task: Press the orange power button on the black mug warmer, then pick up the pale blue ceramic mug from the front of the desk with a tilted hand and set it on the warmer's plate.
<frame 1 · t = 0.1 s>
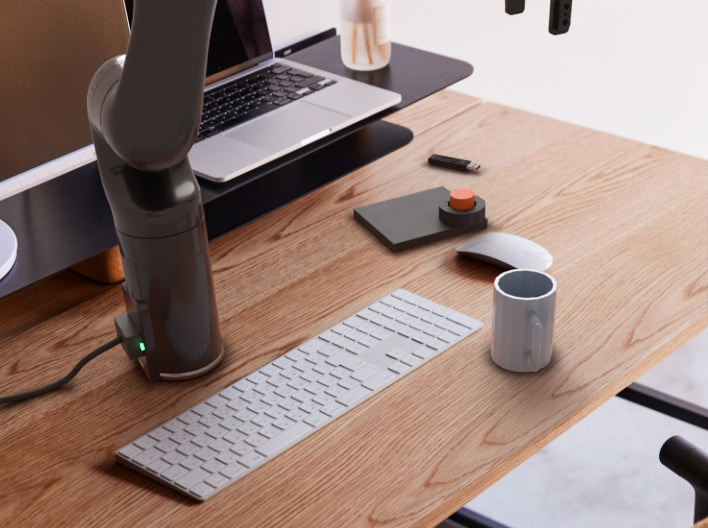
hand: (536, 23, 117), 29 cm above the table, tool pointing down, fingers open, 8 cm apart
warmer button: (462, 199, 141), point 4 cm above the table, slide at 0.1 cm
mug: (521, 355, 117), on the table
warmer: (419, 221, 144), on the table
usb flash drive: (454, 167, 158), on the table
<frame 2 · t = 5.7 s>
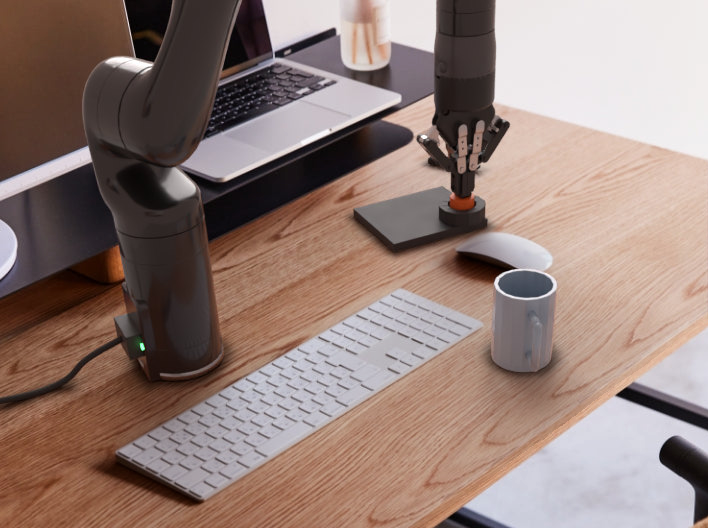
hand: (462, 195, 141), 4 cm above the table, tool pointing down, fingers closed
warmer button: (462, 202, 141), point 3 cm above the table, slide at -0.2 cm, touching gripper
everything else where it was.
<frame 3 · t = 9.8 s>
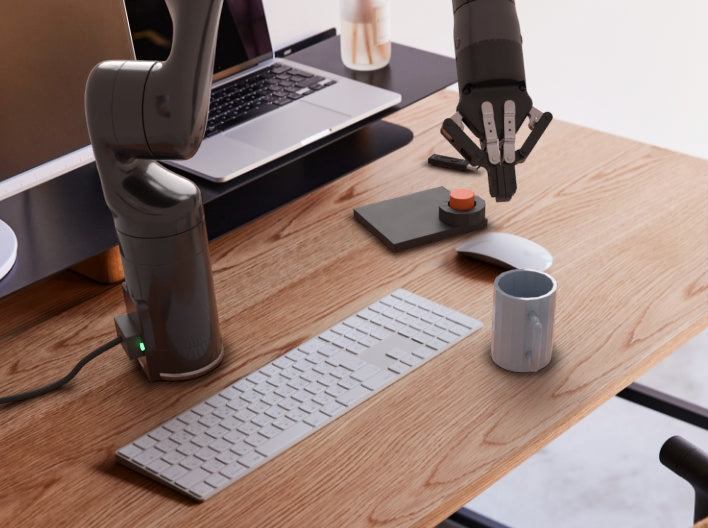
hand: (503, 200, 118), 13 cm above the table, tool tilted 40°, fingers closed
warmer button: (462, 199, 141), point 4 cm above the table, slide at 0.1 cm
everything else where it was.
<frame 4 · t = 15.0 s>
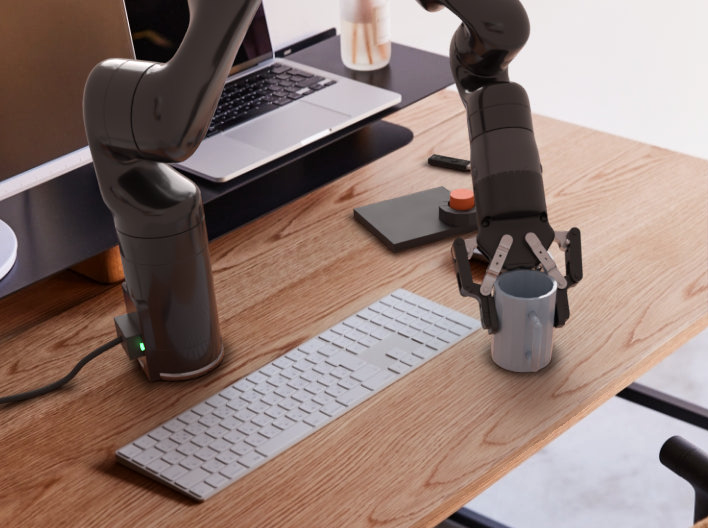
hand: (526, 329, 113), 4 cm above the table, tool tilted 45°, fingers closed on mug, 6 cm apart
mug: (521, 355, 117), on the table, touching gripper
everything else where it was.
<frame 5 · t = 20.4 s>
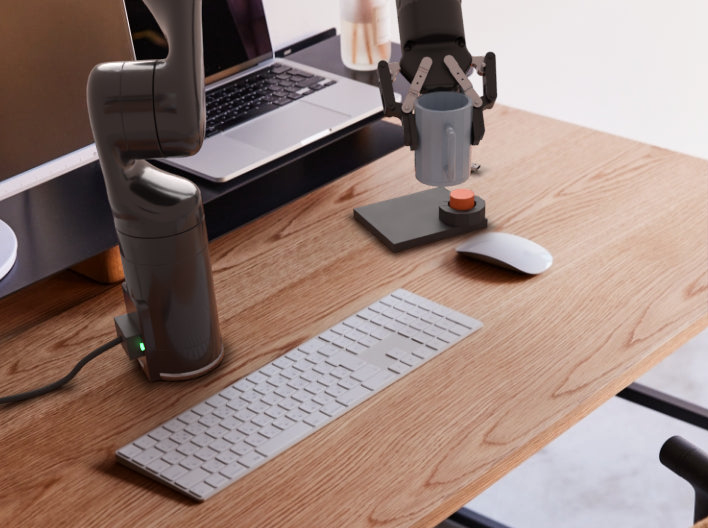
hand: (445, 145, 122), 17 cm above the table, tool tilted 45°, fingers closed on mug, 6 cm apart
mug: (442, 175, 126), point 13 cm above the table, touching gripper
everything else where it was.
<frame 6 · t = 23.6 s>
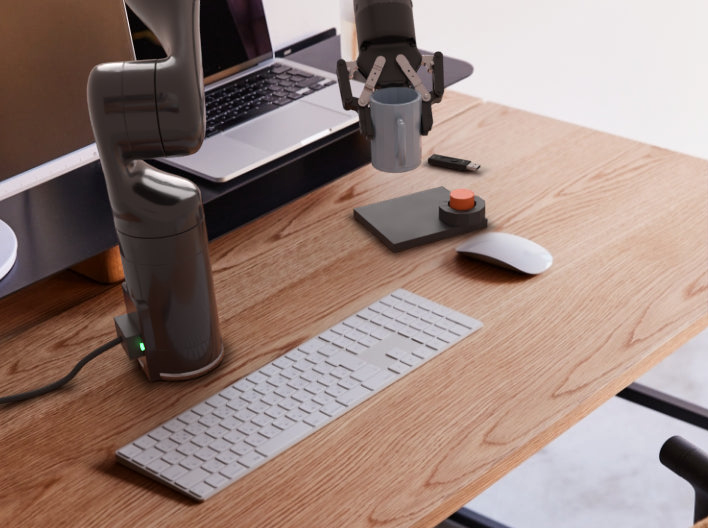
hand: (397, 135, 136), 13 cm above the table, tool tilted 45°, fingers closed on mug, 6 cm apart
mug: (396, 162, 140), point 8 cm above the table, touching gripper
everything else where it was.
when the fingers open (6 cm above the table, at t = 26.3 s): mug stays where it is, resting on warmer.
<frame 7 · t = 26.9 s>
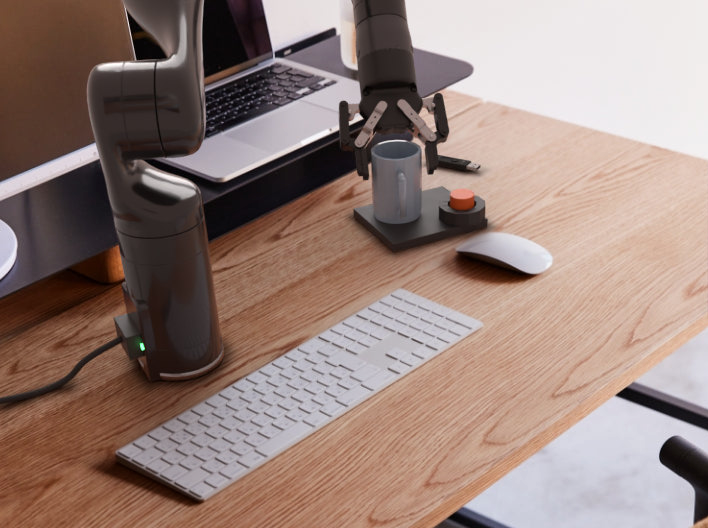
hand: (398, 175, 139), 7 cm above the table, tool tilted 45°, fingers open, 8 cm apart
mug: (397, 213, 144), point 1 cm above the table, touching warmer
everything else where it was.
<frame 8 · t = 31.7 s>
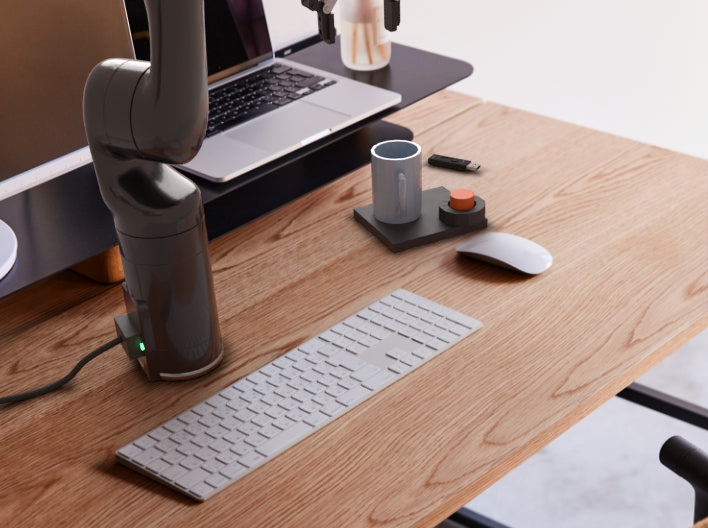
hand: (360, 36, 133), 24 cm above the table, tool pointing down, fingers open, 8 cm apart
nothing on the table moved.
at the end: warmer button pushed in 1.1 cm at the most during the clip, back to where it started at the end; mug 0.2 cm from the target spot on the warmer, point 1.2 cm above the warmer's base; mug tilted 0° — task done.
